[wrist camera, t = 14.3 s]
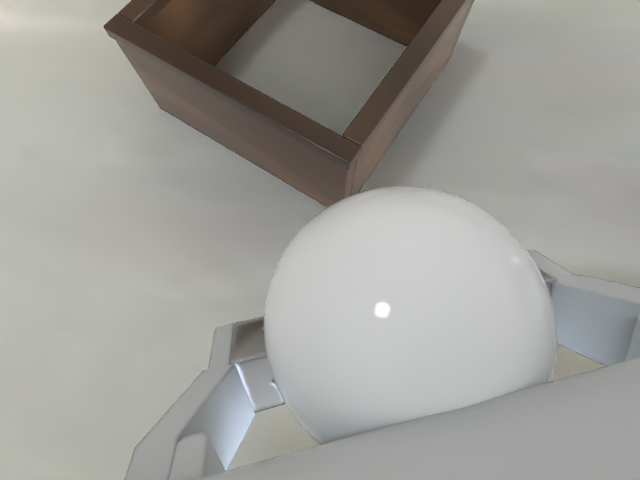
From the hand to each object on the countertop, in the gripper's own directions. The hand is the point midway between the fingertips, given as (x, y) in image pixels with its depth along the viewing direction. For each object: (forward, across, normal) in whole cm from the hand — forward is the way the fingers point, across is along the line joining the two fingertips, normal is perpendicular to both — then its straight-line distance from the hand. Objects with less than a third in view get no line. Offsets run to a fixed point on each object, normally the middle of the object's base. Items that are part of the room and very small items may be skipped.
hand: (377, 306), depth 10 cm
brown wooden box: (+17, -1, -6) cm, 18 cm away
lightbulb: (+4, 0, +5) cm, 6 cm away
